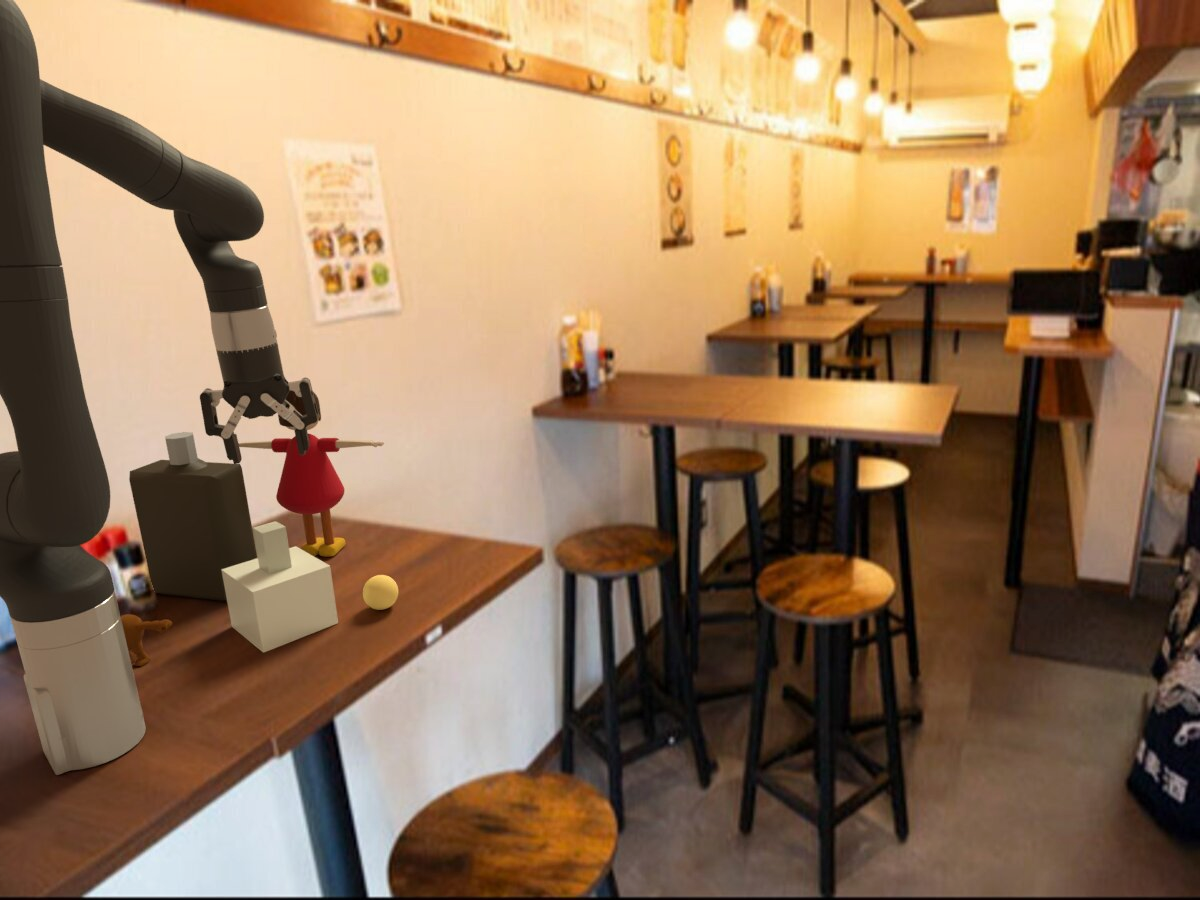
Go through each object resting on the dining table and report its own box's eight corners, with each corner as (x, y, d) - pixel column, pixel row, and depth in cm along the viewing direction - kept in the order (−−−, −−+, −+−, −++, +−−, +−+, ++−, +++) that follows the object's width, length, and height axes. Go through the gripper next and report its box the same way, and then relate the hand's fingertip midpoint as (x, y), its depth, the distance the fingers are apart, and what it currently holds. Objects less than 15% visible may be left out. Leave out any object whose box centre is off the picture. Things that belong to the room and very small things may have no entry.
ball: (376, 619, 113) (371, 587, 112) (358, 608, 117) (354, 577, 115) (406, 607, 117) (403, 575, 115) (388, 596, 120) (385, 566, 119)
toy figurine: (81, 670, 103) (69, 622, 101) (101, 655, 107) (90, 609, 105) (168, 671, 102) (158, 624, 100) (186, 656, 105) (176, 610, 104)
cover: (263, 652, 106) (245, 549, 102) (231, 626, 113) (213, 529, 109) (338, 623, 113) (324, 525, 109) (304, 600, 120) (289, 507, 116)
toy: (405, 543, 140) (386, 375, 132) (383, 568, 130) (361, 388, 122) (261, 542, 143) (233, 377, 135) (228, 567, 133) (196, 391, 125)
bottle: (233, 605, 119) (203, 444, 113) (147, 595, 124) (113, 440, 117) (268, 582, 127) (242, 430, 120) (185, 574, 131) (156, 426, 124)
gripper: (181, 354, 100) (210, 474, 106) (299, 341, 103) (322, 459, 109) (194, 342, 107) (221, 456, 113) (305, 331, 110) (326, 442, 116)
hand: (270, 457), depth 111 cm, fingers open, 8 cm apart
